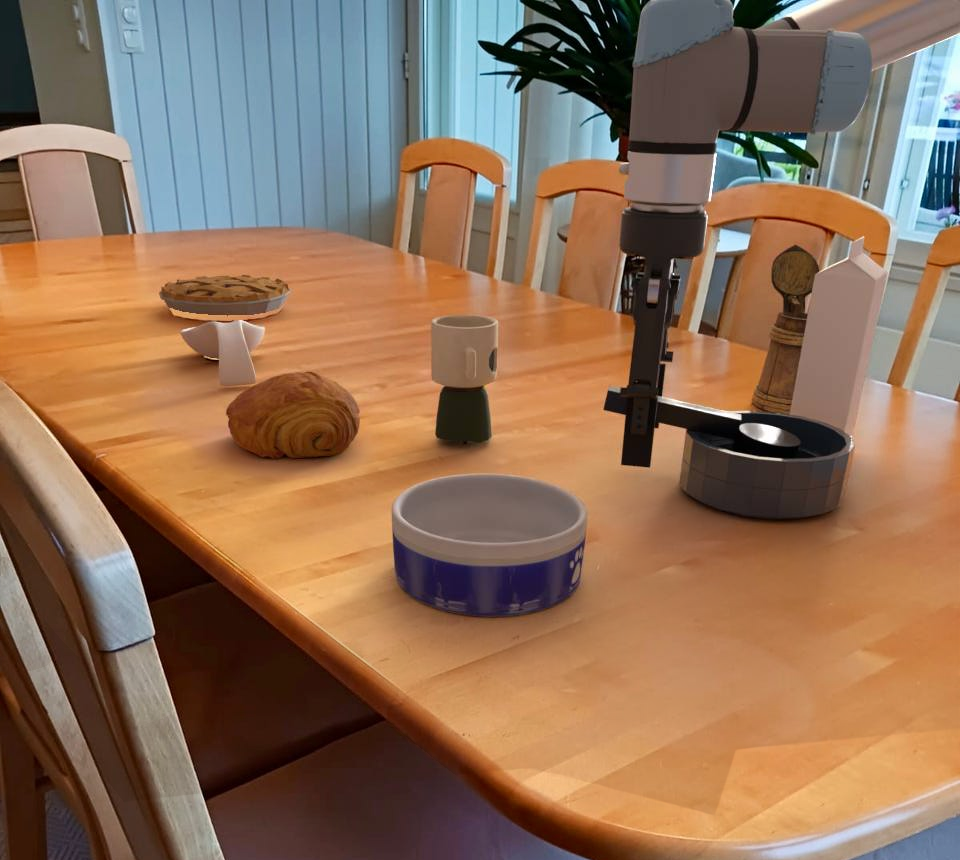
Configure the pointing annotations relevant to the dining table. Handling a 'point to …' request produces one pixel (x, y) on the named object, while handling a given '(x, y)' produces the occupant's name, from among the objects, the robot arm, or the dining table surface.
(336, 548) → the dining table surface
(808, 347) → the milk
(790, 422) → the serving bowl
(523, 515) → the dog bowl
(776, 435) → the ladle
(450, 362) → the character mug
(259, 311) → the pie
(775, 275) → the brown wooden tall piece
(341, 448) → the croissant
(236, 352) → the spoon rest
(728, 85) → the robot arm
